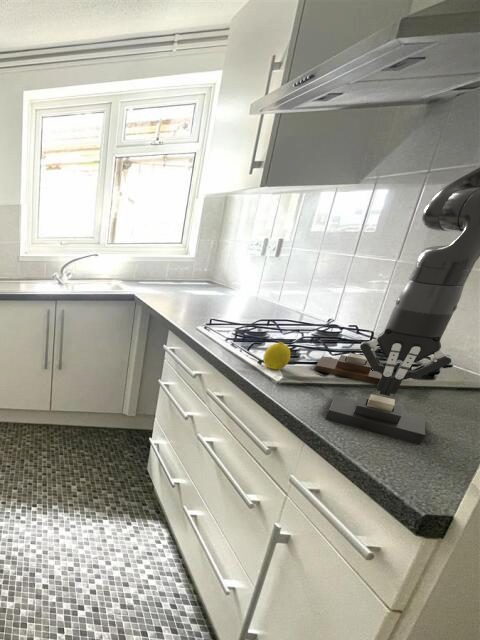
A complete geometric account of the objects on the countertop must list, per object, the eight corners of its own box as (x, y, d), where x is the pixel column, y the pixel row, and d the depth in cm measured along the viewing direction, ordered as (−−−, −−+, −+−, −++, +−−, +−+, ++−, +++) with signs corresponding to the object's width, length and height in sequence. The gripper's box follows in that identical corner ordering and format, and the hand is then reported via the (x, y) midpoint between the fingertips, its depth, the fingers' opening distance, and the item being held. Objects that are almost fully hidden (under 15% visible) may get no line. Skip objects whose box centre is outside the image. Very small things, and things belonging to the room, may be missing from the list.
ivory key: (391, 407, 83) (395, 399, 83) (390, 413, 81) (394, 405, 80) (367, 401, 86) (371, 394, 85) (366, 407, 83) (369, 399, 83)
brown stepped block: (387, 377, 107) (393, 363, 105) (385, 388, 100) (392, 373, 99) (319, 363, 116) (324, 350, 114) (313, 373, 109) (318, 358, 108)
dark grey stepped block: (420, 426, 84) (429, 408, 82) (420, 445, 77) (429, 426, 75) (331, 404, 93) (338, 387, 91) (325, 419, 86) (331, 402, 84)
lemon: (264, 373, 109) (273, 344, 106) (256, 366, 114) (265, 338, 111) (288, 375, 108) (298, 346, 104) (279, 368, 113) (288, 339, 109)
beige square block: (365, 362, 107) (367, 356, 106) (363, 366, 104) (366, 359, 104) (346, 359, 109) (349, 352, 108) (345, 362, 107) (347, 356, 106)
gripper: (476, 310, 73) (431, 398, 80) (376, 298, 82) (343, 379, 89) (480, 318, 69) (432, 411, 76) (373, 304, 77) (339, 389, 84)
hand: (384, 393), depth 82 cm, fingers closed
